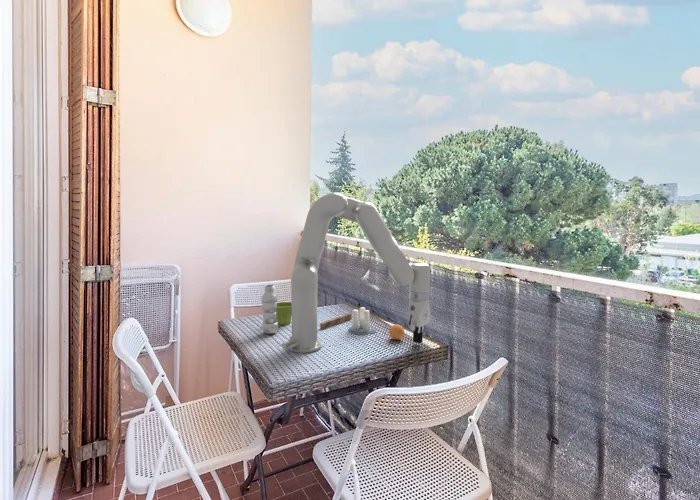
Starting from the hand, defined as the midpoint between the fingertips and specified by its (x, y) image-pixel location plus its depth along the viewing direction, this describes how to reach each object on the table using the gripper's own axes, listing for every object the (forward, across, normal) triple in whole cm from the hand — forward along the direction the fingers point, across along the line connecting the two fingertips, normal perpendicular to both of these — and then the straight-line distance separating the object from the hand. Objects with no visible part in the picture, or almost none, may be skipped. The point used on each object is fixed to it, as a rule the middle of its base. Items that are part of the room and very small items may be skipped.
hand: (417, 341), depth 149 cm
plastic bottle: (+1, -28, +54) cm, 60 cm away
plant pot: (+1, -15, +60) cm, 61 cm away
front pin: (+1, 0, +24) cm, 25 cm away
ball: (-2, 0, +10) cm, 10 cm away
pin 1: (+1, -2, +28) cm, 29 cm away
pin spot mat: (+1, 0, +26) cm, 27 cm away
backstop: (+1, 0, +41) cm, 41 cm away
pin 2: (+1, +2, +28) cm, 29 cm away
